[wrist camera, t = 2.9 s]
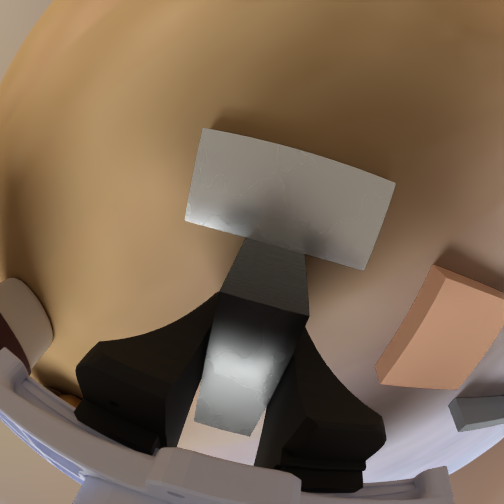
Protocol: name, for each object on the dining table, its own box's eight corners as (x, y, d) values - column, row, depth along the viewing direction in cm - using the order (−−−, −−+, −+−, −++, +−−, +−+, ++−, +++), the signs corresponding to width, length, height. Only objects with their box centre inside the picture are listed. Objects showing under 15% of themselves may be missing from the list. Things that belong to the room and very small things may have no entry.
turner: (308, 366, 15) (308, 446, 10) (176, 330, 15) (136, 399, 10) (388, 180, 11) (453, 208, 5) (210, 129, 11) (146, 118, 6)
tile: (447, 370, 14) (457, 389, 13) (373, 360, 15) (379, 383, 13) (499, 289, 12) (515, 304, 10) (429, 260, 12) (446, 277, 10)
